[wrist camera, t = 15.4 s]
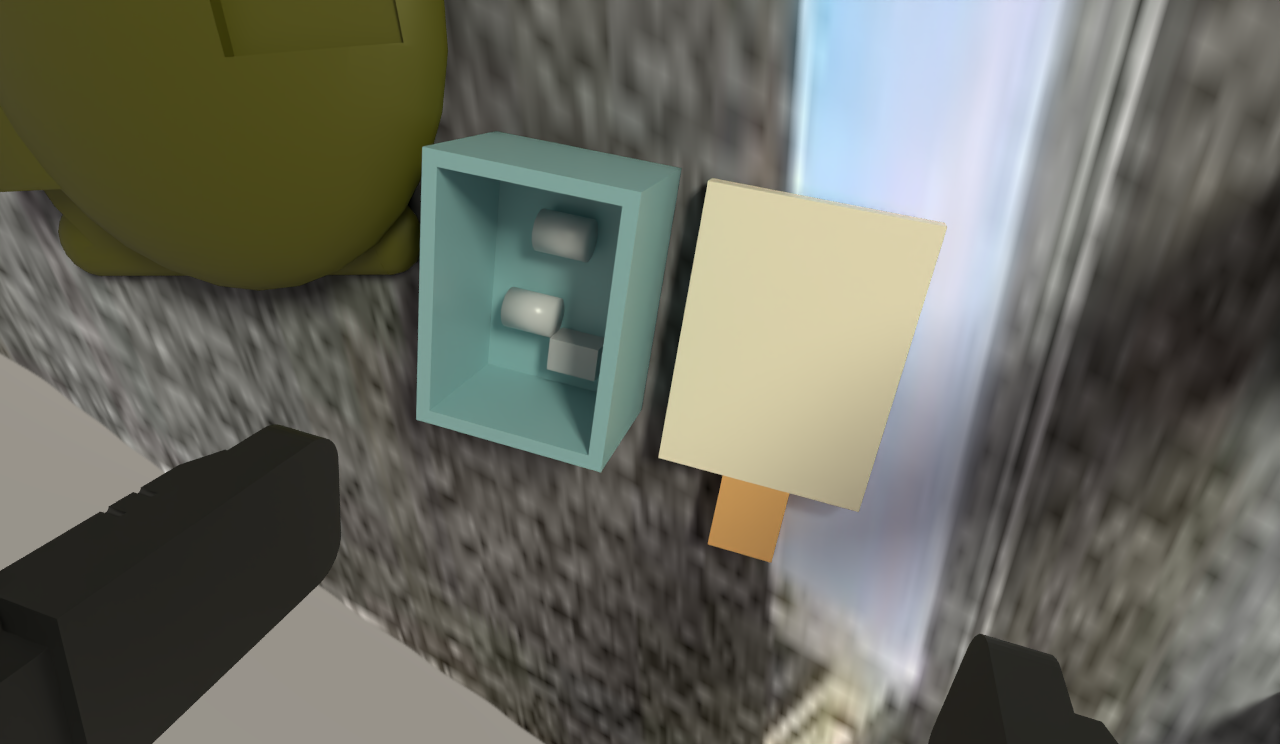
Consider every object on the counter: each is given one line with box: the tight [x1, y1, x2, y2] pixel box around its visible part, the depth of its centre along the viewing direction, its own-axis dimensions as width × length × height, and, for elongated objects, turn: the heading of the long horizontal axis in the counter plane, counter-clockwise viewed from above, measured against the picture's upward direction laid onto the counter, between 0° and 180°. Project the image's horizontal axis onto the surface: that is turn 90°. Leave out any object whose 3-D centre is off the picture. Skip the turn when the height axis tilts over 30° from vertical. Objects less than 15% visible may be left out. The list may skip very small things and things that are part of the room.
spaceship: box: [0, 0, 448, 291], centre depth 41 cm, size 35×31×10 cm
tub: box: [416, 131, 682, 472], centre depth 42 cm, size 11×15×8 cm
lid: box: [658, 178, 947, 562], centre depth 43 cm, size 12×22×2 cm, turn 172°
